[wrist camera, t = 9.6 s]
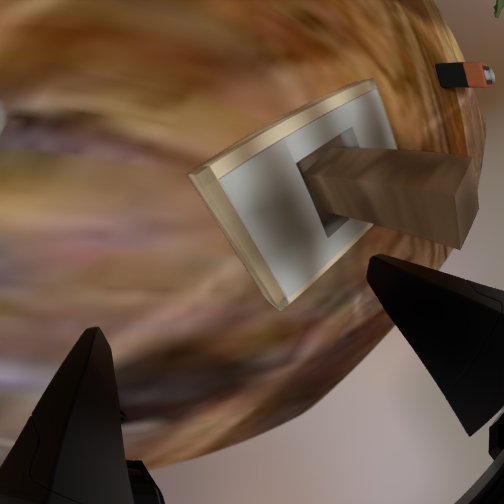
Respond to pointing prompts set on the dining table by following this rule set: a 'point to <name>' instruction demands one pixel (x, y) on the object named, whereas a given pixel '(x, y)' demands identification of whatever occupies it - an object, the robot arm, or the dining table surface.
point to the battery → (465, 74)
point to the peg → (399, 190)
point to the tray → (291, 189)
